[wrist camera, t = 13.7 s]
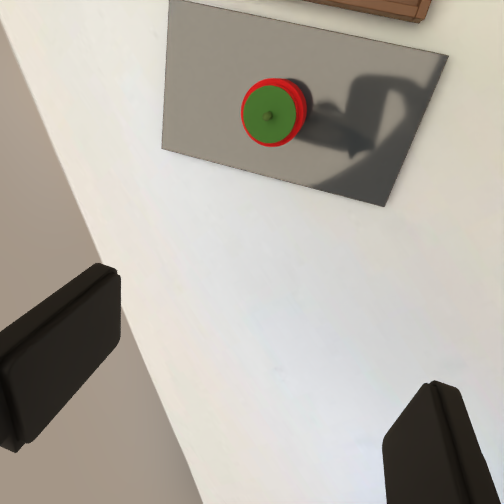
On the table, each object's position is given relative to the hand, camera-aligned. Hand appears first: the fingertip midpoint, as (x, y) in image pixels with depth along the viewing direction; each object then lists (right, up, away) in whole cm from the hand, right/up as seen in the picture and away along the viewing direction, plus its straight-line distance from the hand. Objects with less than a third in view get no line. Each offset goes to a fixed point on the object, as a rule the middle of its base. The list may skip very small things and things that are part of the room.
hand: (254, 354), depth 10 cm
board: (+3, +15, +17) cm, 22 cm away
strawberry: (+2, +14, +16) cm, 21 cm away
